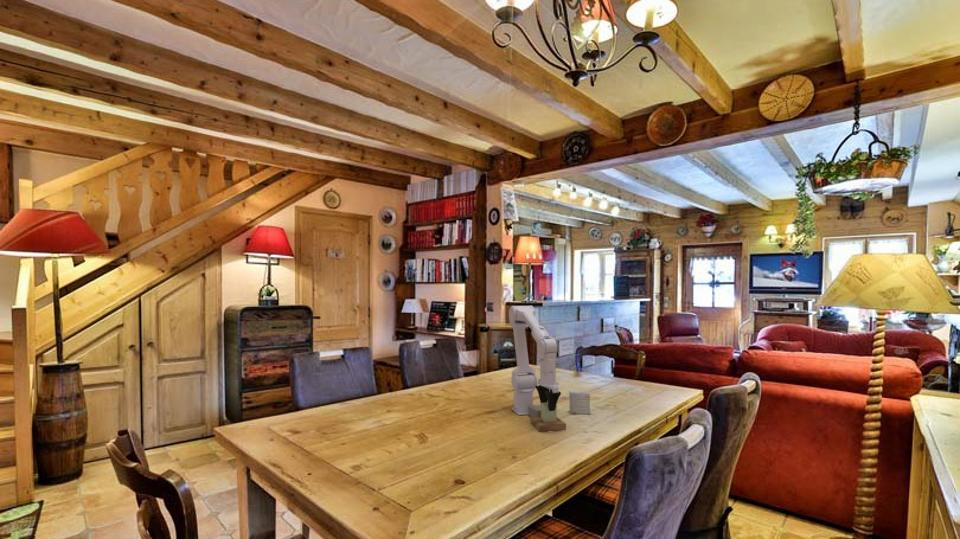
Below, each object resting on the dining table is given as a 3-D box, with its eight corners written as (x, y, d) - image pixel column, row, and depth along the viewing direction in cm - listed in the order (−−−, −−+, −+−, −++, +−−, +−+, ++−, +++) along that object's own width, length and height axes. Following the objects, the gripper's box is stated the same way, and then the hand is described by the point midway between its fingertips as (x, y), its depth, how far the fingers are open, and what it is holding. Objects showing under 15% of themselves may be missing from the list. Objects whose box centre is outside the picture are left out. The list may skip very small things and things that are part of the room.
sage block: (541, 418, 165) (541, 402, 165) (552, 418, 166) (552, 402, 166) (544, 422, 160) (544, 405, 161) (556, 421, 161) (556, 405, 161)
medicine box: (588, 411, 183) (588, 390, 183) (590, 414, 179) (590, 393, 179) (569, 411, 184) (569, 390, 184) (570, 414, 179) (570, 392, 180)
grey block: (528, 416, 177) (528, 406, 177) (543, 414, 180) (543, 404, 180) (537, 421, 170) (537, 411, 170) (552, 419, 173) (552, 409, 173)
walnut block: (530, 425, 167) (530, 417, 167) (555, 423, 169) (555, 415, 169) (540, 434, 157) (540, 425, 157) (565, 432, 159) (565, 423, 159)
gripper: (566, 374, 158) (566, 412, 157) (550, 366, 172) (550, 401, 171) (547, 375, 156) (547, 413, 155) (533, 367, 170) (533, 403, 169)
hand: (547, 407), depth 163 cm, fingers open, 7 cm apart
